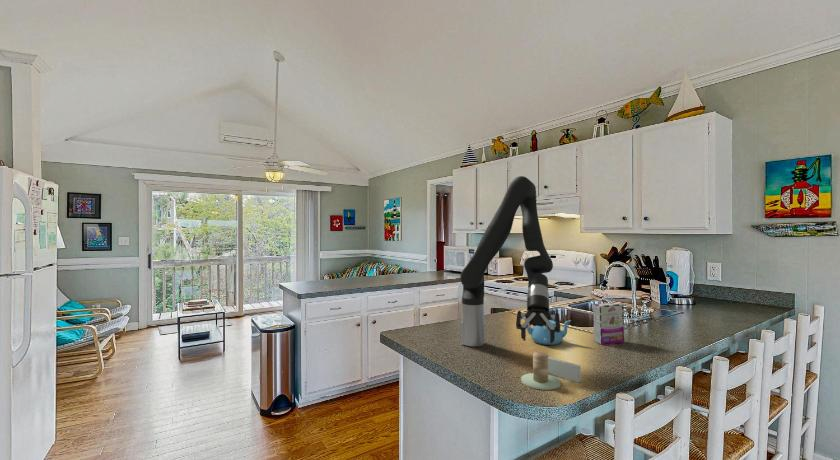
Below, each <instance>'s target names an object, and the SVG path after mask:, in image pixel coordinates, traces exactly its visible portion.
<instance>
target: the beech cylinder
mask: <svg viewBox="0 0 840 460" xmlns="http://www.w3.org/2000/svg"><path fill="white" fill-rule="evenodd" d="M548 357H549V354H547V353H545V352H542V351H541V352H540V351H538V352H537V351H535V352H533V354H532V373H533V380H534V381H536V382H539V383H546V382H548V375H549V373H548Z"/></svg>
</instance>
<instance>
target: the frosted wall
mask: <svg viewBox="0 0 840 460" xmlns="http://www.w3.org/2000/svg"><path fill="white" fill-rule="evenodd" d="M581 373H582V371H581V365H579V364H576V363H572V362H570V361H569V362H568V361H565V360H561V359H559V358H555V357H551V356H548V375H552V376H554V377H557V378H558V377H559V378H562V379H564V380H569V381H571V382H574V383H581V381H582V379H581V377H582V376H581Z"/></svg>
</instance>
